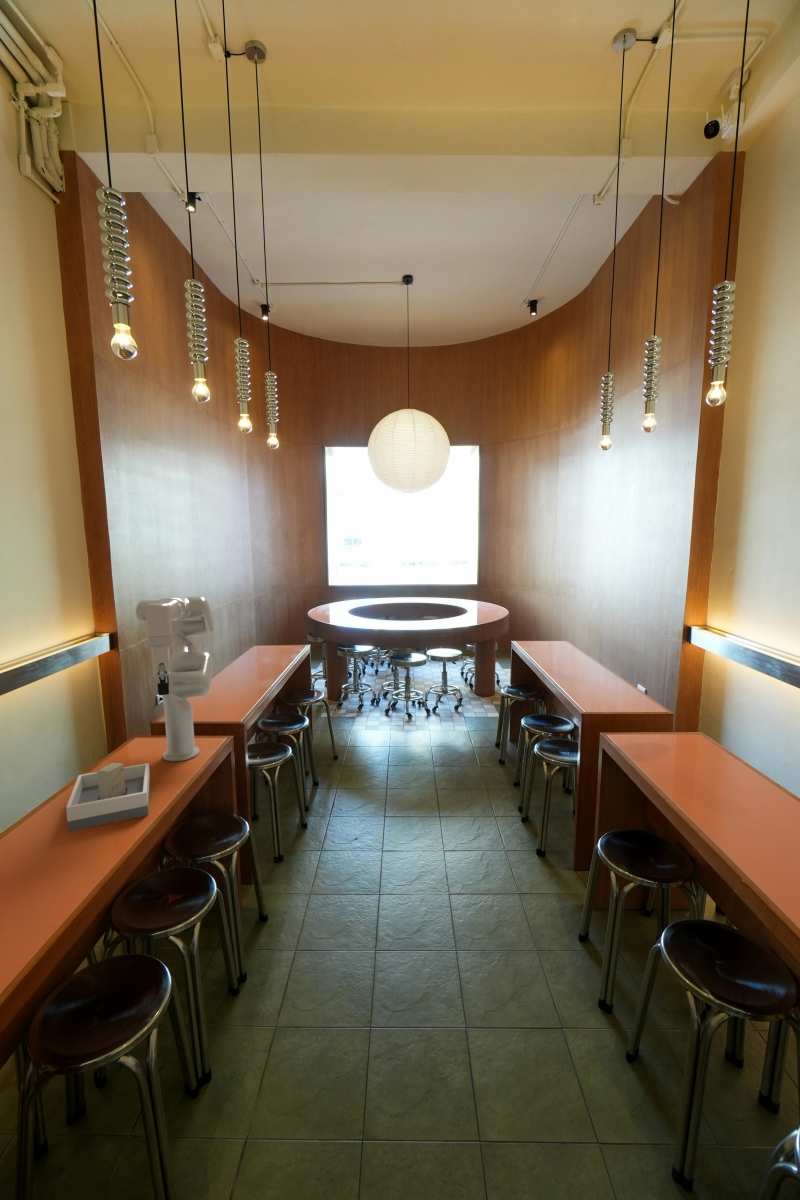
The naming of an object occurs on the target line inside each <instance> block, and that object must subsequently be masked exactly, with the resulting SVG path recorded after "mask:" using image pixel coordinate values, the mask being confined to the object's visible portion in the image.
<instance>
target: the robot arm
mask: <svg viewBox="0 0 800 1200" xmlns="http://www.w3.org/2000/svg"><path fill="white" fill-rule="evenodd" d="M135 609H136V610H135V614H136V617H137V619H138V620H139V622H141V623H146V634H147V635H146V636H147V637H146V639H147V646H148V647H150V648H151V665H152V676H153V677H154V678H155V677H156V676H157V693H158V694H157V695H158V696H161V697H162V702H163V710H164V723H165V724H164V725H165V726H164V727H165V737H166V739H165V740H166V750H165V751H164V752H163V754H162V758H163V760H165V761H168V762H182V761H186V760H189V759H192V758H194V757H196V756H197V755H199V753H200V748H199V746H197V745H195V730H194V729H195V728H194V715H193V706H192V705H191V703H190V702H189V701H188V699H187V698H199V697H204V696H205V697H206V696H207V695H208V694H209V693H210V691H211V687H212V680H213V674H214V667H215V666H214V658H213V655H212V654H211V653H210V652H208V651H197V647H196V645H195V644H194V643H193V642H192V641H191V640H190V639H189V638H187V637H204V636H205V637H206V636H209V635H212V634H213V632H214V629H215V625H214V624H215V622H214V618H213V614H212V610H211V607H210V604H209V602H208V600H207V598H206V597H203V596H180V597H179V596H178V597H177V596H176V597H166V598H160V599H158V598H157V599H149V600H148V599H145V600H140V601H139V602H138V603H137V605H136V608H135ZM170 646H172V652H171V653H172V654H171V656H170Z"/></svg>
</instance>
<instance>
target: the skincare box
mask: <svg viewBox="0 0 800 1200" xmlns="http://www.w3.org/2000/svg"><path fill="white" fill-rule="evenodd" d="M124 767H125V766H124V763H120V762H119V763H118V762H110V763H108V764H107V765H105V766H103V767H102V768H100V769H98V770H97V771H96V772H97V775H98V787H99V798H100V800H103V799H108V798H113V797H119V796H124V795H126V788H125V777H124Z"/></svg>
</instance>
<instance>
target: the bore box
mask: <svg viewBox="0 0 800 1200" xmlns="http://www.w3.org/2000/svg"><path fill="white" fill-rule="evenodd" d="M124 777H125V788H126V795H124V796H119V797H113V798H108V799H103V800H100V798H99V787H98V775H97V771H95V772H90V773H84V774H78V775H77V779H76V781H75V783H74V787H73V789H72V790H71V791H72V792H71V794H70V797H69V800H68V802H67V805H66V807H65V810H66V811H65V812H66V819H67V822H66V823H67V829H68V830H67V832H69V833H70V832H74V831H80V830H84V829H88V827H89V828H93V827H92V826H94V827H98V826H97V825H99V826H103V825H102V824H104V825H106V823H108V824H112V823H111V822H113V823H116V822H115V821H118V822H121V821H120V820H123V821H126V820H125V819H128V820H130V819H129V818H132V819H137V818H141V817H147V816H149V809H150V796H151V795H150V794H151V773H150V763H149V762H147V763H141V764H136V765H130V766H124ZM83 828H84V829H83ZM79 829H80V830H79Z"/></svg>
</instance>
